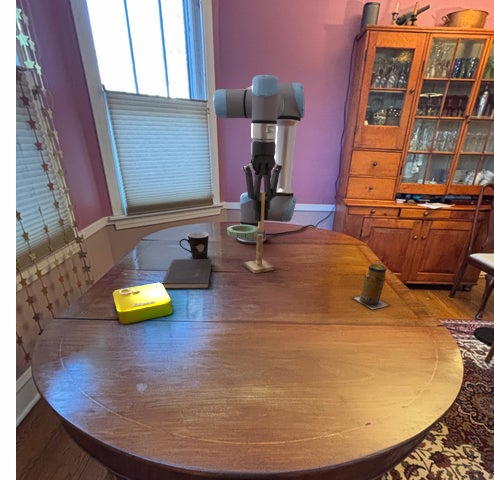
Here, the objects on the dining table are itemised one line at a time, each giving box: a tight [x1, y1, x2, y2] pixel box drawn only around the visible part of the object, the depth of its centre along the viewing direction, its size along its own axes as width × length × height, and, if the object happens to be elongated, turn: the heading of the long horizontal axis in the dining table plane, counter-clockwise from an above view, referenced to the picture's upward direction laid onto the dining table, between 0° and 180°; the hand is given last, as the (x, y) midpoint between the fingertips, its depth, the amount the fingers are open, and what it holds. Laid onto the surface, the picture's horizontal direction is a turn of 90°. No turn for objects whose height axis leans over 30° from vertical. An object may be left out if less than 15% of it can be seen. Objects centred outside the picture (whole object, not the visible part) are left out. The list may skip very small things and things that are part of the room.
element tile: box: [112, 282, 174, 325], centre depth 89 cm, size 15×15×5 cm
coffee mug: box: [178, 231, 210, 259], centre depth 127 cm, size 12×9×10 cm
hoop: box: [226, 192, 265, 239], centre depth 99 cm, size 13×10×13 cm
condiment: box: [353, 264, 389, 310], centre depth 95 cm, size 7×8×12 cm
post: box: [243, 234, 275, 274], centre depth 118 cm, size 9×9×14 cm
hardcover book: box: [161, 258, 213, 290], centre depth 112 cm, size 16×23×2 cm
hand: (261, 219), depth 103 cm, fingers closed on hoop, 2 cm apart
